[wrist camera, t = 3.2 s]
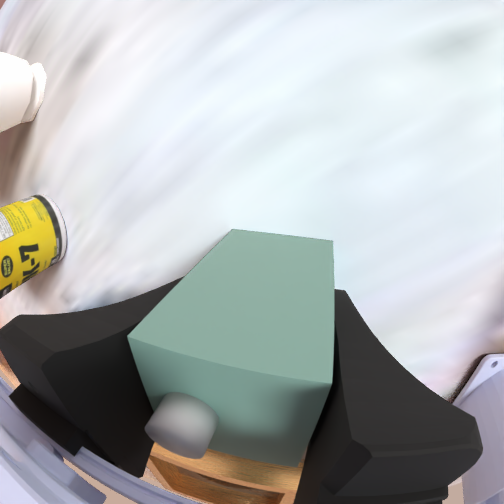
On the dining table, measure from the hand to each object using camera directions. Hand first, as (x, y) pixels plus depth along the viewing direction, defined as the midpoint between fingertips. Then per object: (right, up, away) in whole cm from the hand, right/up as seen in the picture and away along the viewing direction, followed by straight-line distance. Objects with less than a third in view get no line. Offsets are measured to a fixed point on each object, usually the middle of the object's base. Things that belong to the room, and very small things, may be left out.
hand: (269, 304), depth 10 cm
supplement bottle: (-14, +4, +5) cm, 15 cm away
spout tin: (0, +1, +2) cm, 2 cm away
